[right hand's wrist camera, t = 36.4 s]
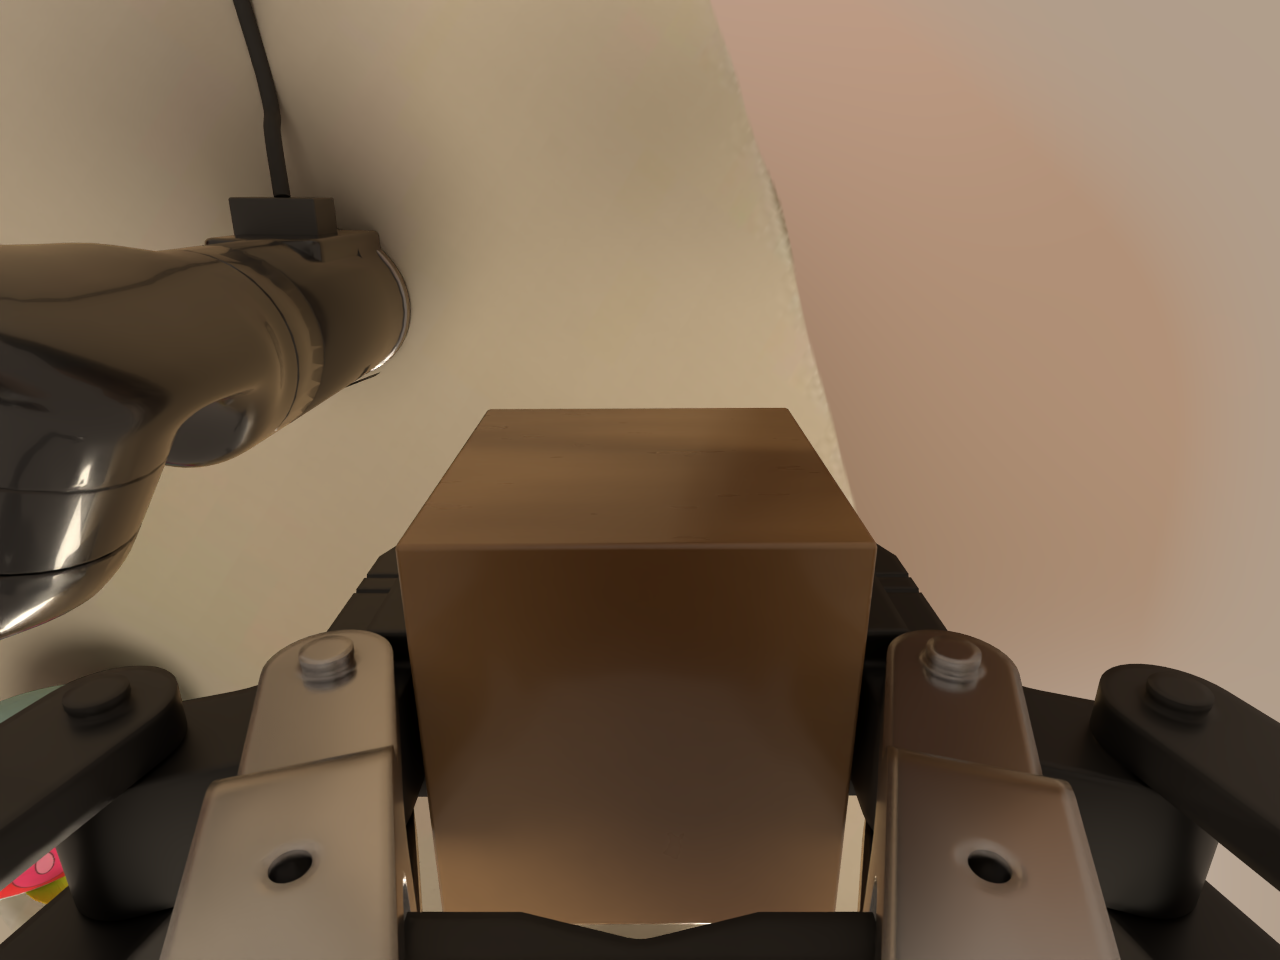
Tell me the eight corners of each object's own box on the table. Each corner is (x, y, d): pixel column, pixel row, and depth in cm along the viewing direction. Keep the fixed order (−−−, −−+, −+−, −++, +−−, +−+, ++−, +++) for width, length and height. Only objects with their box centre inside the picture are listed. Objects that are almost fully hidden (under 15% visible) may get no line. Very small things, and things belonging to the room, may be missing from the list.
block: (508, 680, 13) (443, 927, 9) (487, 408, 12) (393, 545, 7) (770, 679, 13) (834, 926, 9) (787, 406, 12) (879, 543, 7)
